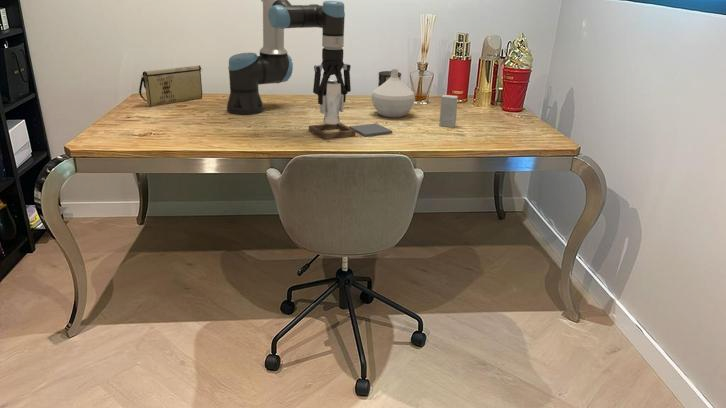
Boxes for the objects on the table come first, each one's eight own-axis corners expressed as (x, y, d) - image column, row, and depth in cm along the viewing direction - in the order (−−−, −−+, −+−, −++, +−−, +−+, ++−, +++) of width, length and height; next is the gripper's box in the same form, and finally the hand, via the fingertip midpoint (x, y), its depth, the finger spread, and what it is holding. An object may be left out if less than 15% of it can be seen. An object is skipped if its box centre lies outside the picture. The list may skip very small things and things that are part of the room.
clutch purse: (197, 96, 256) (195, 63, 250) (206, 98, 252) (203, 65, 246) (137, 105, 235) (132, 70, 229) (145, 108, 231) (141, 72, 225)
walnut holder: (323, 139, 196) (323, 134, 195) (308, 130, 206) (308, 125, 206) (355, 135, 202) (355, 130, 201) (339, 127, 212) (339, 122, 212)
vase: (384, 121, 223) (386, 74, 215) (363, 111, 238) (365, 67, 230) (421, 117, 231) (425, 72, 223) (399, 108, 246) (402, 65, 238)
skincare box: (455, 125, 221) (458, 95, 217) (453, 127, 218) (456, 97, 213) (440, 123, 223) (443, 94, 218) (438, 126, 219) (441, 96, 215)
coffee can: (374, 104, 251) (375, 73, 246) (381, 100, 260) (383, 70, 255) (395, 107, 248) (397, 75, 242) (402, 102, 257) (404, 72, 251)
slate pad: (364, 136, 201) (364, 134, 201) (349, 128, 211) (349, 126, 210) (392, 133, 207) (392, 130, 207) (375, 125, 216) (376, 123, 216)
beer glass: (340, 125, 200) (341, 84, 194) (321, 124, 200) (321, 83, 194) (341, 120, 206) (342, 80, 200) (323, 119, 206) (323, 79, 200)
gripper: (311, 50, 185) (311, 117, 194) (362, 48, 194) (359, 112, 203) (302, 47, 190) (303, 112, 200) (352, 45, 200) (350, 107, 209)
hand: (331, 112), depth 201 cm, fingers closed on beer glass, 7 cm apart
